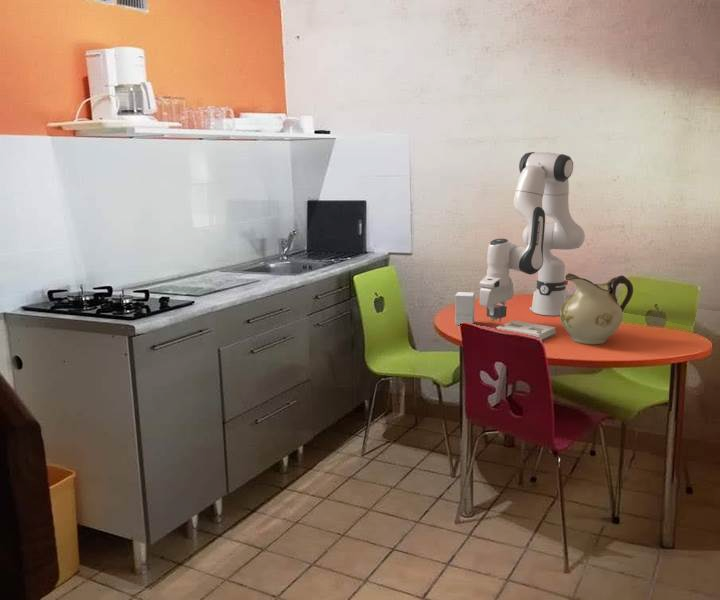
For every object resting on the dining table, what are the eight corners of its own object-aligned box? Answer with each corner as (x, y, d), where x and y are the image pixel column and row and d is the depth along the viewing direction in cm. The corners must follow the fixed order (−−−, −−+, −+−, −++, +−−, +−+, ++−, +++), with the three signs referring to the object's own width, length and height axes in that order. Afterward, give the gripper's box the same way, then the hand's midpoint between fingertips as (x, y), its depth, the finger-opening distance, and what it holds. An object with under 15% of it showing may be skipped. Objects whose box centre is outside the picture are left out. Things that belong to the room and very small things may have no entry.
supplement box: (474, 321, 296) (475, 292, 293) (472, 326, 289) (473, 295, 286) (456, 320, 297) (457, 291, 295) (454, 325, 290) (455, 295, 288)
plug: (493, 318, 289) (493, 304, 288) (506, 320, 286) (506, 306, 284) (486, 321, 286) (487, 306, 284) (499, 323, 282) (499, 308, 281)
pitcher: (547, 340, 266) (551, 275, 261) (575, 328, 283) (580, 267, 278) (604, 352, 251) (610, 283, 246) (631, 339, 268) (637, 274, 263)
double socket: (513, 327, 286) (514, 319, 285) (555, 334, 274) (555, 326, 274) (496, 334, 276) (496, 325, 275) (538, 342, 264) (538, 333, 263)
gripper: (504, 274, 291) (503, 307, 294) (477, 283, 277) (476, 317, 280) (518, 276, 287) (516, 309, 290) (490, 285, 272) (489, 319, 276)
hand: (496, 313), depth 285 cm, fingers closed on plug, 5 cm apart
